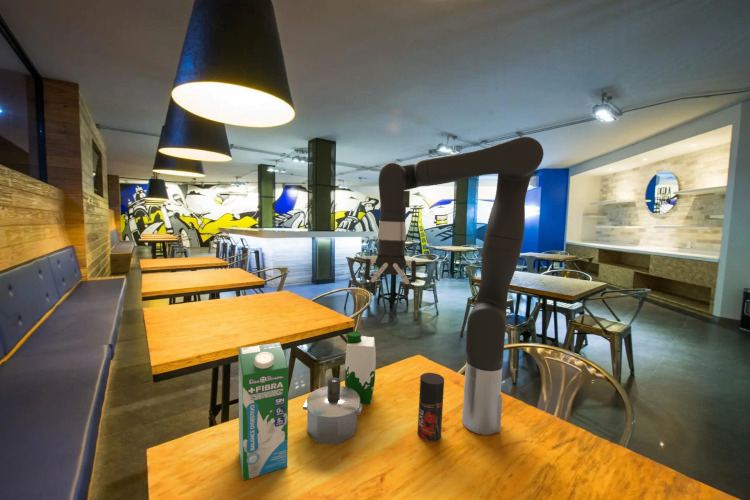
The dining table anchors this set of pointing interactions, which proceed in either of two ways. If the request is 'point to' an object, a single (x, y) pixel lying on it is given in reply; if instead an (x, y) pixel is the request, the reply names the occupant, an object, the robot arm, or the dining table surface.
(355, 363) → the soya milk
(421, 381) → the deodorant
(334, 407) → the lid
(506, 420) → the dining table surface
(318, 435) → the pot
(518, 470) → the dining table surface
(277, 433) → the milk carton
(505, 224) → the robot arm
